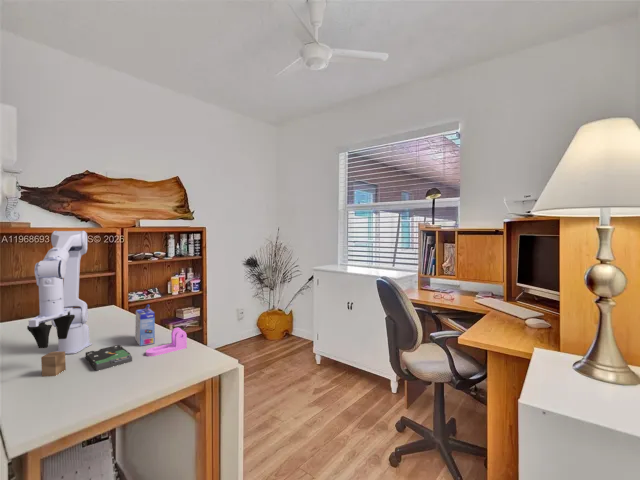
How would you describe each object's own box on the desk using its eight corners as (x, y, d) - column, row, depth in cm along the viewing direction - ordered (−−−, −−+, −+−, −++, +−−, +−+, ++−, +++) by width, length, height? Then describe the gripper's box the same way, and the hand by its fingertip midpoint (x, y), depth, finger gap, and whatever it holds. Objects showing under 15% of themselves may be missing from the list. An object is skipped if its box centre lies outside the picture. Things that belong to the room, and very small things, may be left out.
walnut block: (52, 370, 99) (51, 351, 98) (65, 370, 99) (65, 351, 99) (41, 376, 95) (41, 356, 94) (55, 376, 95) (55, 356, 95)
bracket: (181, 344, 121) (181, 326, 121) (186, 348, 117) (186, 330, 116) (144, 353, 112) (143, 334, 112) (148, 358, 108) (147, 338, 108)
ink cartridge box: (156, 343, 122) (155, 306, 121) (139, 347, 118) (138, 308, 118) (150, 336, 129) (149, 302, 129) (135, 339, 126) (134, 304, 125)
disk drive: (84, 360, 107) (96, 373, 98) (84, 352, 107) (95, 364, 97) (119, 351, 115) (133, 362, 105) (119, 344, 115) (132, 354, 105)
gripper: (46, 304, 89) (48, 351, 89) (81, 294, 103) (83, 334, 104) (20, 305, 88) (21, 352, 89) (59, 294, 103) (60, 335, 103)
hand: (53, 343), depth 96 cm, fingers open, 7 cm apart
